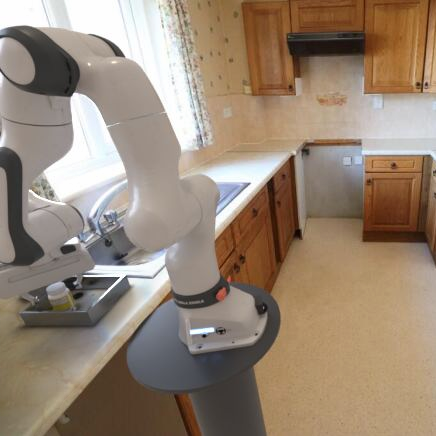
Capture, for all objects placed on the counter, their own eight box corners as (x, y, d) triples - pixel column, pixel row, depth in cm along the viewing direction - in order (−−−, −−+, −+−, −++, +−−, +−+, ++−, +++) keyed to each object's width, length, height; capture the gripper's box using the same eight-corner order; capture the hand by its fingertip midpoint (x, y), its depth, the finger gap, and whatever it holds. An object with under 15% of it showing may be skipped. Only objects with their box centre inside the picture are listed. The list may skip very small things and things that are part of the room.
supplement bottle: (65, 305, 93) (54, 281, 89) (81, 305, 92) (70, 281, 89) (52, 316, 88) (39, 292, 85) (68, 316, 88) (56, 291, 84)
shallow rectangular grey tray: (130, 286, 100) (126, 274, 98) (93, 325, 84) (87, 312, 83) (72, 287, 100) (67, 275, 98) (25, 326, 85) (18, 312, 83)
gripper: (-20, 273, 74) (7, 320, 80) (86, 242, 86) (103, 284, 92) (-19, 262, 78) (7, 307, 84) (82, 234, 90) (98, 275, 96)
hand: (58, 295), depth 88 cm, fingers open, 8 cm apart
